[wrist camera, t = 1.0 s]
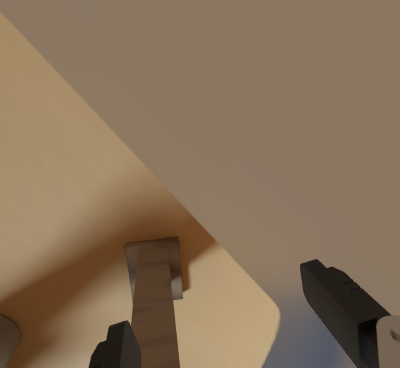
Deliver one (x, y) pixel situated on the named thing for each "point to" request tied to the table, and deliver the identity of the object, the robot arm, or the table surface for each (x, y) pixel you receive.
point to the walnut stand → (155, 299)
